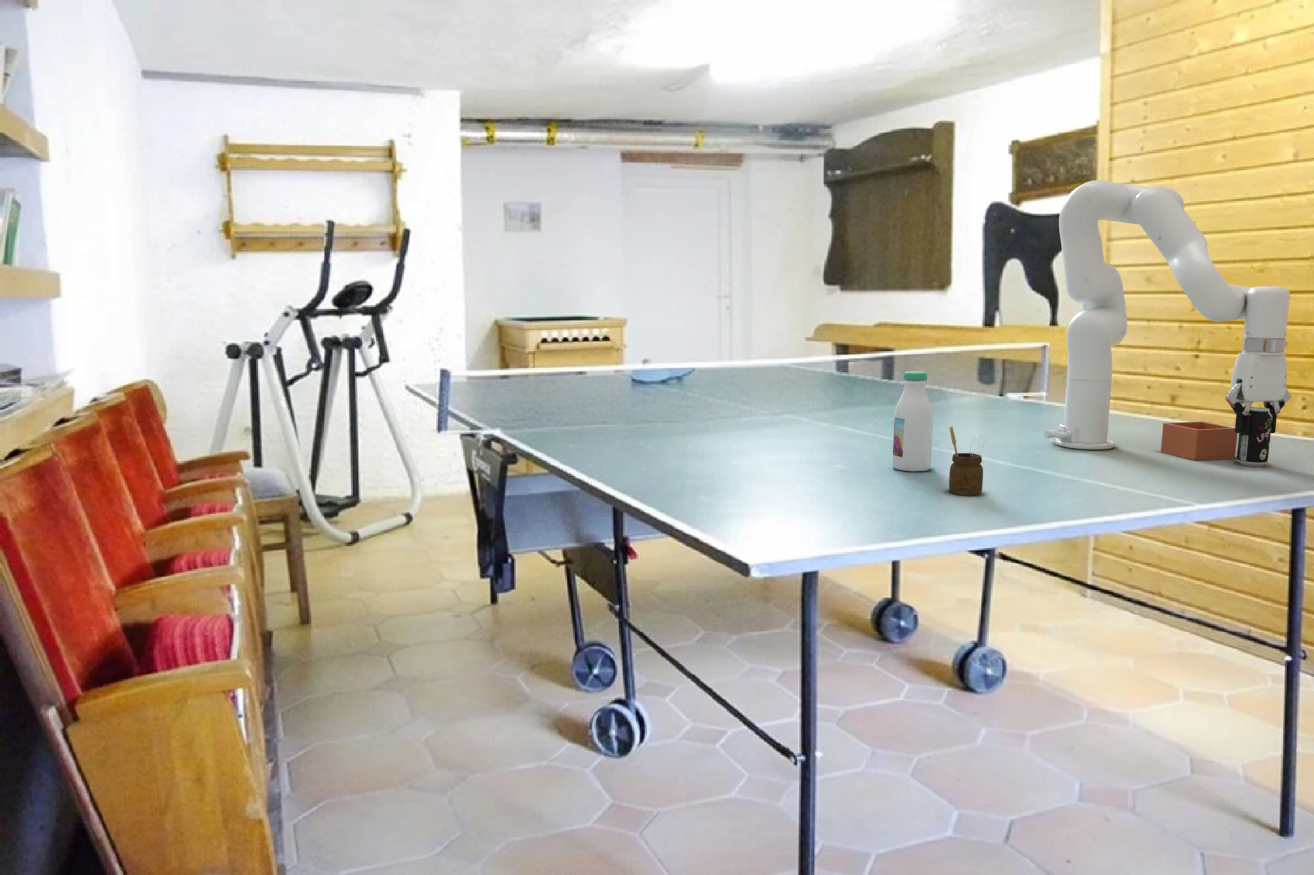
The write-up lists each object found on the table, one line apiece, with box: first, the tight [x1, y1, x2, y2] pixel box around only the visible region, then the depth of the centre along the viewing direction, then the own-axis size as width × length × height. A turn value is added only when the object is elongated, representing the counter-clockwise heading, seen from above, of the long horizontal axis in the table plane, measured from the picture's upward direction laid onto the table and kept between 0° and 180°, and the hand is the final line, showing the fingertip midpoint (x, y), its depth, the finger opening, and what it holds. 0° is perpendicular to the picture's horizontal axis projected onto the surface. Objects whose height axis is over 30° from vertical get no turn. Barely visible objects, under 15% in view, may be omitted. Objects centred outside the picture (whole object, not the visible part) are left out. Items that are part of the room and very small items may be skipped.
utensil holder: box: [948, 426, 986, 496], centre depth 186 cm, size 6×6×12 cm
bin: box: [1160, 420, 1239, 461], centre depth 224 cm, size 10×10×7 cm
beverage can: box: [1235, 406, 1272, 467], centre depth 212 cm, size 6×6×12 cm
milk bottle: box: [891, 370, 934, 472], centre depth 207 cm, size 8×8×20 cm
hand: (1254, 432), depth 212 cm, fingers closed on beverage can, 5 cm apart
